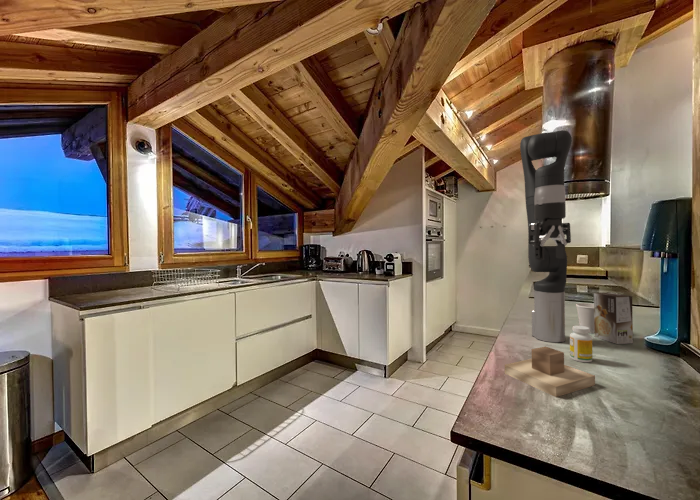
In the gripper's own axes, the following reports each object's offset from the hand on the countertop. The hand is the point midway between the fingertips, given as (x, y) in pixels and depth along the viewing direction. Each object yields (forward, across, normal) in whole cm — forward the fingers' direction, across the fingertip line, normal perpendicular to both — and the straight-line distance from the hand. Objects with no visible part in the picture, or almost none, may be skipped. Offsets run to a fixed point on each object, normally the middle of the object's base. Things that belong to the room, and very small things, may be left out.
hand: (550, 259), depth 89 cm
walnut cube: (+28, +11, +7) cm, 31 cm away
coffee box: (+30, -38, -5) cm, 49 cm away
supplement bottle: (+30, -10, +2) cm, 32 cm away
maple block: (+31, +11, +7) cm, 33 cm away
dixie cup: (+30, -42, -15) cm, 54 cm away
